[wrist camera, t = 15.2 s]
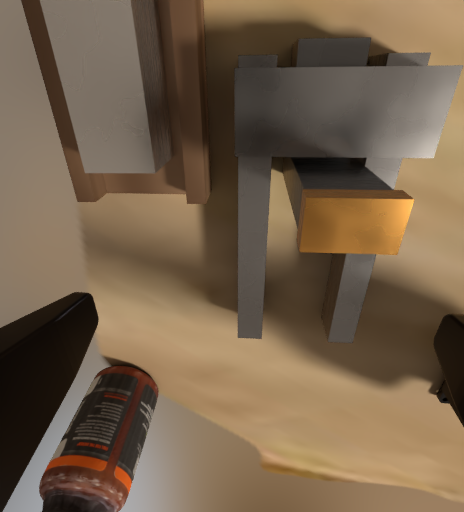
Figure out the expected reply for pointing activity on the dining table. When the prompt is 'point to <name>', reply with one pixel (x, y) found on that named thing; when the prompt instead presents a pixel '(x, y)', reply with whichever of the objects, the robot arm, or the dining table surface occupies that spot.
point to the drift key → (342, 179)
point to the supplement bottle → (101, 444)
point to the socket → (328, 154)
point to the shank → (113, 82)
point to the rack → (179, 98)
